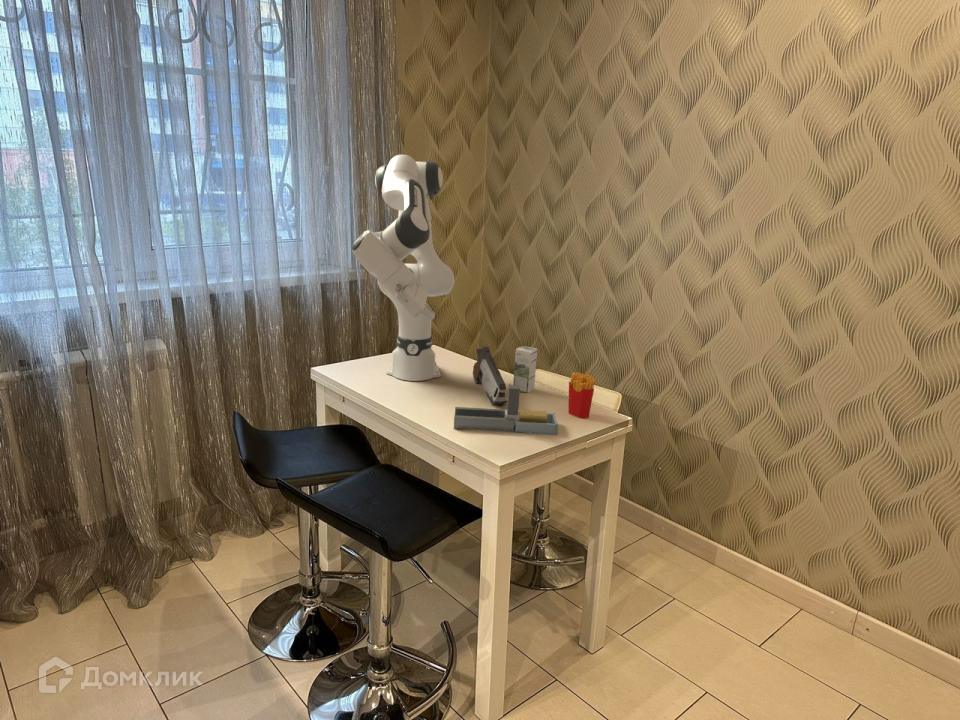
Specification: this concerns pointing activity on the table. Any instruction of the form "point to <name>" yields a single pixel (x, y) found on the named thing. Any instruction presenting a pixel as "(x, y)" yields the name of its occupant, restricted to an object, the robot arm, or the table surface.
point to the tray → (539, 426)
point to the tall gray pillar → (513, 403)
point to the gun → (489, 377)
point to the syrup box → (525, 368)
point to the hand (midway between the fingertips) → (433, 317)
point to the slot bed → (482, 419)
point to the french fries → (580, 395)
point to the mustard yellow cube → (540, 417)
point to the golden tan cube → (526, 416)
